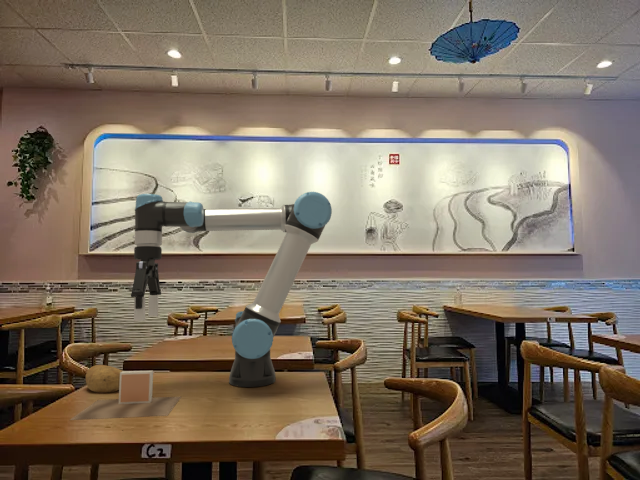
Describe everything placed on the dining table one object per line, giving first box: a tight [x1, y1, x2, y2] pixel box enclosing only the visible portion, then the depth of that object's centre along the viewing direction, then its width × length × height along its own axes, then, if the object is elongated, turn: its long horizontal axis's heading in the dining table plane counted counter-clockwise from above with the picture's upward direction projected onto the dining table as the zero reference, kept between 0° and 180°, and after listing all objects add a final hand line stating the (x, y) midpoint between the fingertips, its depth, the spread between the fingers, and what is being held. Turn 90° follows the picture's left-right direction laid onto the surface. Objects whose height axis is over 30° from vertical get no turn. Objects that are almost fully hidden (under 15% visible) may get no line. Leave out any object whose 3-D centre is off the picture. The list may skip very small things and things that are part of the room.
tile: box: [118, 370, 154, 404], centre depth 108 cm, size 8×2×8 cm, turn 98°
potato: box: [85, 364, 124, 394], centre depth 121 cm, size 10×14×8 cm
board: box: [69, 396, 182, 421], centre depth 104 cm, size 22×16×1 cm
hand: (146, 318), depth 119 cm, fingers open, 13 cm apart
